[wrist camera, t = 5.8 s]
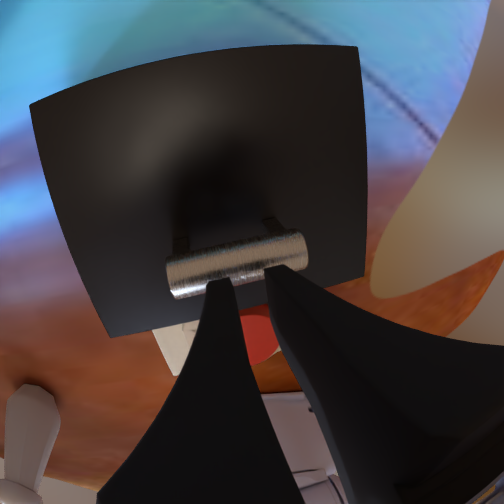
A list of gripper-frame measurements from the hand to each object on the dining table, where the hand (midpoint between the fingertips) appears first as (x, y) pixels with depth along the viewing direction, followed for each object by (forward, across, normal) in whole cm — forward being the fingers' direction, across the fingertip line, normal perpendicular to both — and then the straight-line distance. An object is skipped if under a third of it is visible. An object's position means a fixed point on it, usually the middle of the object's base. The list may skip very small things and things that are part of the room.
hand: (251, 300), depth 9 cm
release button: (+8, 0, +7) cm, 11 cm away
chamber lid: (+6, 0, -2) cm, 6 cm away
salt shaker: (+10, +21, +14) cm, 28 cm away
